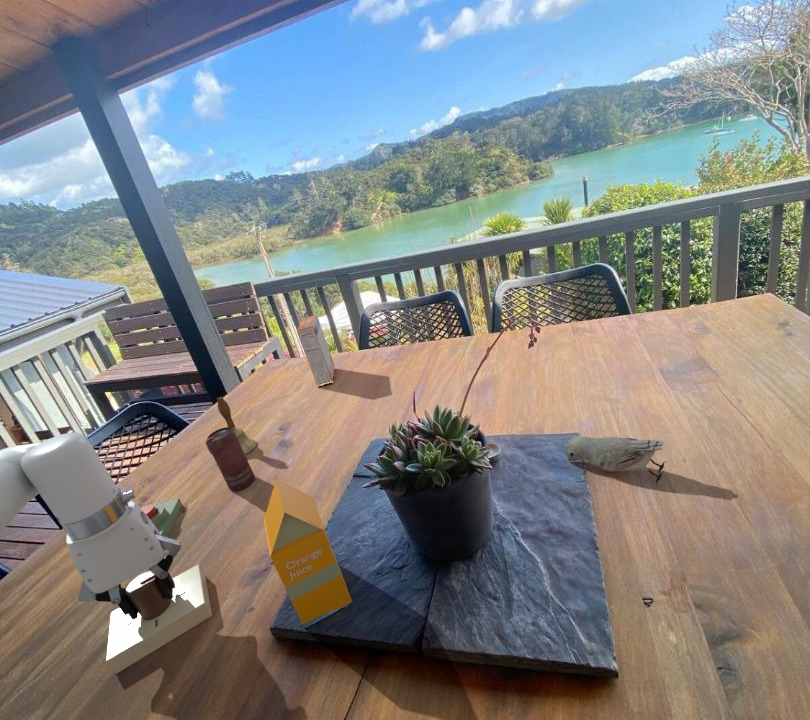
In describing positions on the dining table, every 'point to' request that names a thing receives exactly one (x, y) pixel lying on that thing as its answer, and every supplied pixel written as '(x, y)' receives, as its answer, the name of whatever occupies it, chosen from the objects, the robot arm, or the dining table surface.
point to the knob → (147, 596)
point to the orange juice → (303, 553)
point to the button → (149, 510)
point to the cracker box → (316, 349)
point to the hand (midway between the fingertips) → (152, 601)
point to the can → (230, 458)
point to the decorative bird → (615, 453)
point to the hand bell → (244, 441)
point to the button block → (166, 516)
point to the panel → (158, 622)
